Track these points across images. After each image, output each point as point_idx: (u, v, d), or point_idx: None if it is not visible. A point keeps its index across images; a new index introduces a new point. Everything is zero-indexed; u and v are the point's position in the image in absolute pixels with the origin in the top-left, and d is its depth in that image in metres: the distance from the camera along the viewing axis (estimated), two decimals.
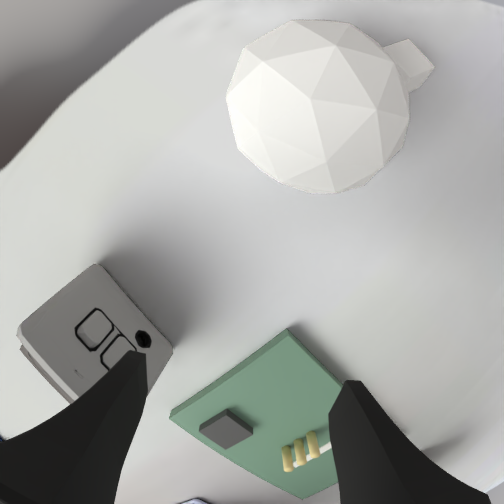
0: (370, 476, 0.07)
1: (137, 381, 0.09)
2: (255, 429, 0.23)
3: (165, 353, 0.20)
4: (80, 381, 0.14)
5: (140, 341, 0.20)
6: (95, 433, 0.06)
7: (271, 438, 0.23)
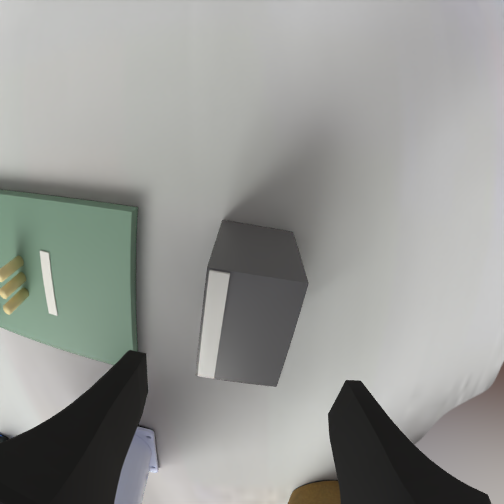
0: (370, 476, 0.07)
1: (137, 381, 0.09)
2: None
3: None
4: None
5: None
6: (95, 433, 0.06)
7: None
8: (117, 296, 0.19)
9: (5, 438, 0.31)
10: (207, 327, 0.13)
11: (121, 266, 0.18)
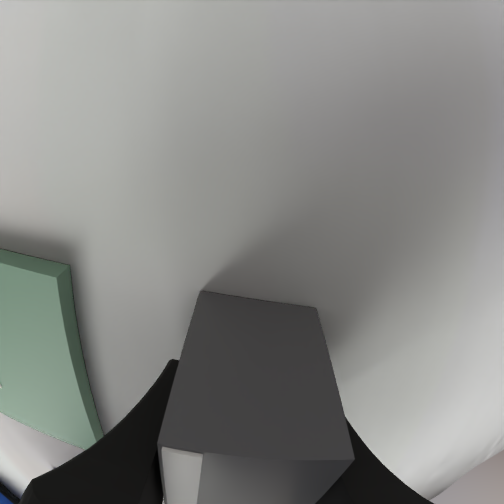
0: None
1: None
2: None
3: None
4: None
5: None
6: (155, 449, 0.06)
7: None
8: (61, 382, 0.12)
9: None
10: (174, 497, 0.06)
11: (58, 349, 0.11)
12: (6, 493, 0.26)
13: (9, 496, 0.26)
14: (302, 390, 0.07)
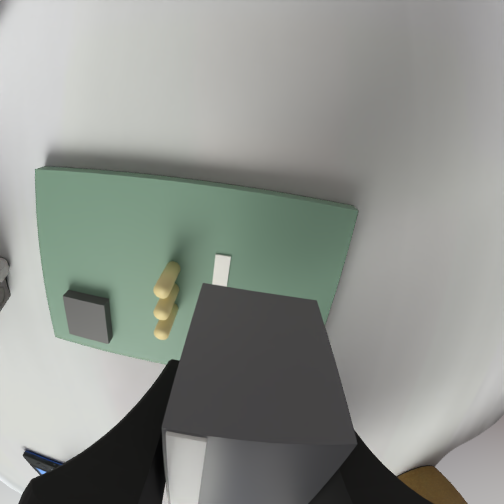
0: None
1: None
2: (113, 299, 0.18)
3: None
4: None
5: None
6: (155, 449, 0.06)
7: (139, 302, 0.18)
8: None
9: None
10: (176, 487, 0.06)
11: (331, 270, 0.17)
12: None
13: None
14: (304, 377, 0.07)
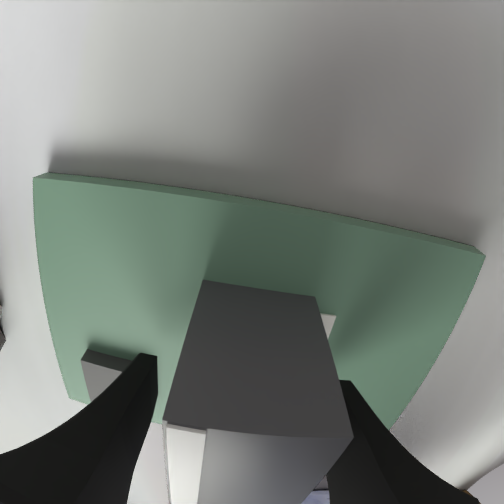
0: (358, 477, 0.07)
1: (149, 384, 0.09)
2: None
3: None
4: None
5: None
6: (110, 438, 0.06)
7: None
8: (419, 362, 0.13)
9: None
10: (176, 481, 0.07)
11: (445, 325, 0.12)
12: None
13: None
14: (302, 372, 0.08)
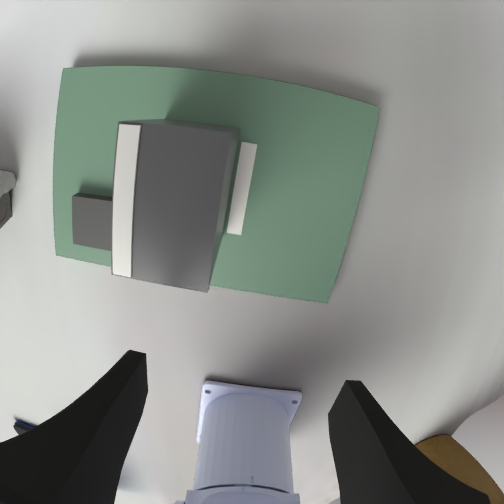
0: (370, 476, 0.07)
1: (137, 381, 0.09)
2: None
3: (3, 178, 0.16)
4: None
5: None
6: (95, 433, 0.06)
7: None
8: (342, 202, 0.17)
9: None
10: (118, 199, 0.11)
11: (357, 165, 0.16)
12: None
13: None
14: (211, 127, 0.12)
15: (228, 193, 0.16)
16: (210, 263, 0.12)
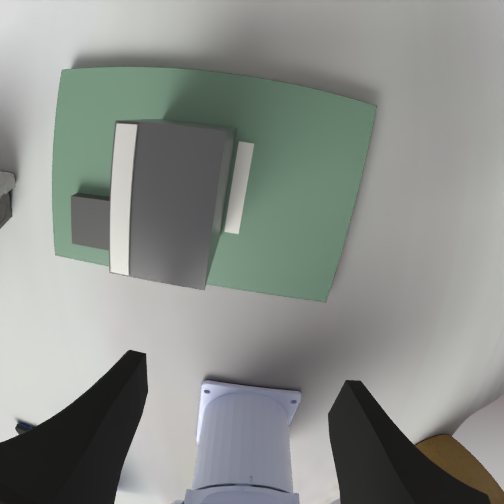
0: (370, 476, 0.07)
1: (137, 381, 0.09)
2: None
3: (2, 179, 0.16)
4: None
5: None
6: (95, 433, 0.06)
7: None
8: (339, 201, 0.17)
9: None
10: (115, 197, 0.11)
11: (354, 163, 0.16)
12: None
13: None
14: (207, 126, 0.12)
15: (225, 192, 0.16)
16: (207, 261, 0.12)
